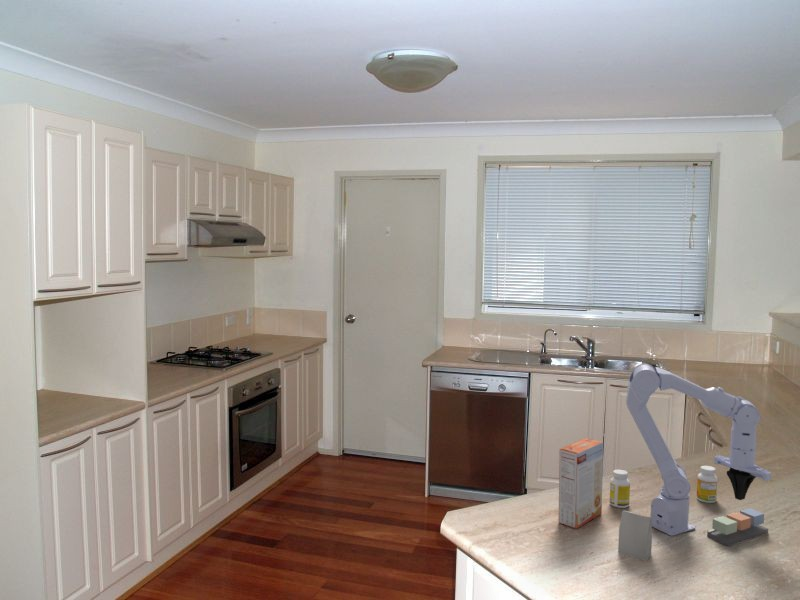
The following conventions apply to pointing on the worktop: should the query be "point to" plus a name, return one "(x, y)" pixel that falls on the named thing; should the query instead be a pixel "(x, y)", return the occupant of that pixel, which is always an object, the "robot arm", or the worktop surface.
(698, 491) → the supplement bottle
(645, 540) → the grey rectangular block
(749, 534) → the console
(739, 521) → the terracotta key
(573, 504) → the cracker box
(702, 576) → the worktop surface
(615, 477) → the supplement bottle
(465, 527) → the worktop surface
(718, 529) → the sage key
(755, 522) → the light blue square block
